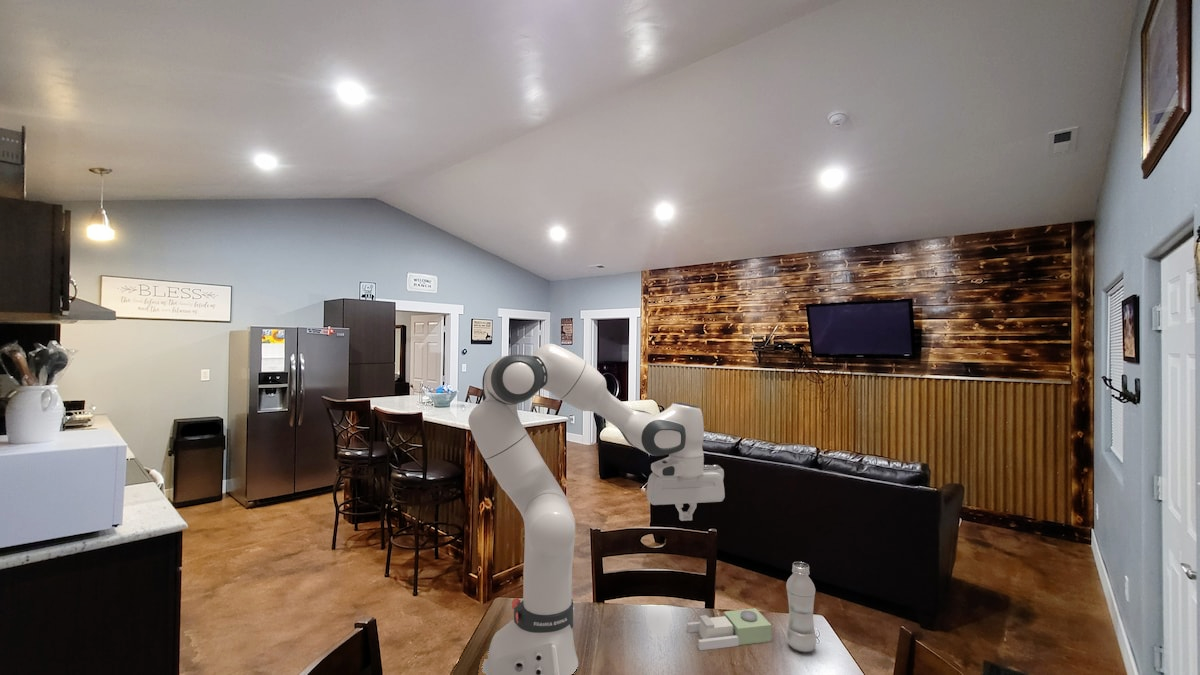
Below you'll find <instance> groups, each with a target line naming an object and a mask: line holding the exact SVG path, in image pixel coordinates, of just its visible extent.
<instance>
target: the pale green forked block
mask: <svg viewBox="0 0 1200 675" xmlns="http://www.w3.org/2000/svg"><path fill="white" fill-rule="evenodd" d="M723 616H725V617H726V618H727V619H728V620H729V621H730V623H731V624H732V625H733V636H726V637H717V638H708V639H702V638H701V639H700V638H699V639H698V640H697V641H698V645H697V649H698V650H699V651H706V650H716V649H723V648H731V647H738V646H743V645H744V646H745V645H749V644H750V645H751V644H760V643H769V642H772V639H773V637H772V636H773V635H772V634H773V633H772V631H773V630H772V628H773V625H772V624H771V622H769V621H768V619H766V617H765V616H764V615H763V614H762V613H761V612H760V611H759V610H758V609H757V608H755V607H754V608H746V609H736V610H726V611H723ZM686 632H687V633H688V634H690V633H699V621H690V622H686Z"/></svg>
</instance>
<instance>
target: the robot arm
mask: <svg viewBox="0 0 1200 675" xmlns="http://www.w3.org/2000/svg"><path fill="white" fill-rule="evenodd" d="M485 368H486V369H485V370H484V373H483V375H482V382H481V383H482V401H481V402H480V403H478V404H477V405H475V407H474V408H473V409H472V410H471V411H470V414H469V415H468V426H469V429H470V431H471V432H470V433H471V434H472V437H473V440H474V441H475V444H476V446H477V448H478V451H479V452H480V454H481V456H482V458H483V460H484V461H485V463H486V464H487V466H488V468H489V470H490V472H491V473H492V474H493V477H494V478H495V480H496V481H497V483H498V484H499V487H501V490H503V491H504V492H505V493H506V495H507V496H508V497H509V499H510V500H511V501H512V502H513V504H514V506H515V507H516V509H518V511H519V513H520V514H521V518H522V519H523V520H522V521H523V525H524V551H523V555H524V556H523V574H522V575H523V576H522V577H523V578H522V579H523V588H522V589H523V591H522V593H523V594H522V595H523V596H522V600H521V599H520V598H518V597H515V598H512V601H511V607H512V608H511V609H512V610H513V619H511V620H510V621H509V622H508V623H507V624H505V625H504V626H503V627H501V628H500V629H499V630H498V631H496V632H495V634H494V635H493V637H492V639H491V642H490V645H489V649H488V650H489V651H488V652H489V653H488V654H487V655H488V659H484V662H483V664H482V665H483V666H482V667H481V668H483V669H482V672H483V673H484V674H486V675H571V674H573V673H574V672H575V671H576V669H577V670H578V668H579V658H578V655H577V653H576V652H577V651H576V648H575V642H574V640H575V639H574V631H573V628H574V622H575V605H574V604H575V603H574V600H573V597H572V596H573V595H572V594H573V593H572V592H573V587H572V586H573V562H574V561H573V560H574V552H575V544H576V541H575V540H576V519H575V516H574V513H573V510H572V508H571V505H570V502H569V500H568V498H567V496H566V494H565V492H564V491H563V489H562V487H561V486H560V484H559V482H558V481H557V479H556V478H555V476H554V475H553V473H552V471H551V470H550V468H549V467H548V466H547V463H546V462H545V460H544V458H543V457H542V456H541V454H540V452H539V450H538V449H537V447H536V445H535V444H534V442H533V440H532V439H531V437H530V435H529V433H528V431H527V430H526V428H525V426H524V425H523V424H522V422H521V420H520V416H519V415H518V414H519V413H518V406H519V404H521V403H524V402H526V401H528V400H529V399H531V398H533V396H534V395H536V394H537V393H538V392H539V391H541V390H544V391H547V392H549V393H551V394H552V396H553V395H554V396H555V397H556V398H558V399H559V400H561V401H562V402H564V403H566V404H567V405H569V406H571V407H573V408H575V409H577V410H581V411H583V412H592V413H595V414H596V415H598V416H599V417H602V418H603V419H604V420H606V421H607V422H609V423H610V424H612V425H613V426H614V427H615V428H617V429H618V430H619V432H620V433H621V434H622V437H623V438H624V440H625V441H626V443H628V444H629V445H630V446H631V447H632V448H633V447H634V448H637V449H639V450H640V451H642V452H644V453H646V454H648V455H651V456H653V457H654V456H655V457H663V456H667V455H668V456H667V457H664V458H662V459H659V460H657V461H654V462H652V463H651V464H650V470H651V471H652V472H651V473H650V474H649V476H648V480H647V485H646V500H647V501H648V502H649V503H650V505H653V506H660V505H661V506H665V505H675V508H676V509H677V511H678V516H679V517H678V518H679V520H680V521H682V522H684V521H685V522H686V521H693V514H694V512H695V510H696V509H697V505H698V504H699V503H700V504H701V503H704V504H705V503H718V502H719V503H720V502H723V501H724V499H725V497H726V496H725V495H726V493H725V486H724V485H725V484H724V478H725V471H724V468H722V467H721V466H720V465H719V464H712V465H711V464H704V462H705V457H704V455H705V454H704V450H703V442H704V440H705V438H704V437H705V434H704V433H705V426H704V423H705V422H704V417H703V416H704V415H703V411H702V409H701V408H700V407H699V406H697V405H694V404H691V403H686V402H679V401H675V402H672V404H671V405H670V406H668V407H667V408H665V409H664V410H662V411H661V412H659V413H657V414H652V413H650V412H647V411H644V410H638V409H634V408H631V407H629V406H628V405H627V404H625V403H624V402H622V401H621V400H619V398H617V397H616V396H615V395H613V393H612V394H611V392H610V391H609V390H608V388H607V386H608V385H607V380H606V377H605V376H603V375H602V373H600V371H599V370H598V369H597V368H595V367H594V366H593V365H592V364H591V363H589V362H587V361H586V360H585V359H583V358H582V357H580V356H579V355H577V354H575V353H573V352H572V351H570V350H568V349H566V348H564V347H562V346H559V345H557V344H554V343H551V342H550V343H545V344H542V345H541V346H539V347H538V348H537V349H536V350H535V351H534V353H533V354H532V355H527V354H510V355H503V356H499V358H496V359H495V360H493V362H491V363H490V364H489V365H487V367H485ZM684 504H688V505H689V508H688V509H687V511H683V509H682V508H684ZM577 667H578V668H577ZM576 672H577V671H576ZM576 672H575V673H576ZM575 673H574V674H575Z"/></svg>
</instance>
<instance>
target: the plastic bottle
mask: <svg viewBox="0 0 1200 675" xmlns="http://www.w3.org/2000/svg"><path fill="white" fill-rule="evenodd" d="M809 565H810V564H808V563H806V562H802V561H794V562H793V563H792V567H791V568H792V569H791V573H792V574H791V575H790V576H789V577H788V579H787V581H786V584H785V585H786V586H785V587H786V594H787V599H788V621H787V622H788V623H787V627H786V640H787V643H788V644H789V646H790V647H791V648H792V649H793V650H795V651H797V652H800V653H811V652H813V651H814V650H815V649H816V645H817V635H816V630H815V624H814V605H815V604H814V603H815V597H816V596H815V595H816V587H815V584H814V582H813V580H812V579H811V578H810V576H809V575H810V566H809Z"/></svg>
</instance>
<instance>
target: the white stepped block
mask: <svg viewBox="0 0 1200 675" xmlns="http://www.w3.org/2000/svg"><path fill="white" fill-rule="evenodd" d="M698 622H699V632H698V633H699V634H698V635H700V637H701V639H708V638H717V637H726V636H733V625H732V624H731V623H730V621H729V620H728V619H727V618H726V617H725V616H724V615H722V616H714V617H713V616H712V617H709V616H708V614H703V615H699V621H698Z"/></svg>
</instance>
